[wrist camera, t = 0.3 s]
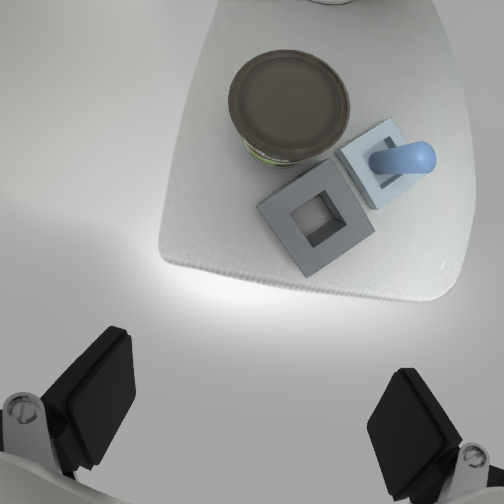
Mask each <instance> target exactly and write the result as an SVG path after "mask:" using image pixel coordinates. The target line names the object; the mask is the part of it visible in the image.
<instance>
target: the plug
mask: <svg viewBox="0 0 504 504" xmlns="http://www.w3.org/2000/svg"><path fill="white" fill-rule="evenodd" d="M368 163H369V167H370V169H371V170H372V172H374V173H375V174H378V175H385V174H424V173H430V172H431V171H432V170H433V169H434V168H435V165H436V155H435V152H434V150H433V148H432V147H431V146H430V145H429V144H428V143H426V142H422V141H420V142H416V143H411V144H407V145H402V146H398V147H394V148H390V149H385V150H381V151H377V152H374V153H372V154H371V155H370V157H369V161H368Z"/></svg>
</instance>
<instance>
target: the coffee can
mask: <svg viewBox="0 0 504 504" xmlns="http://www.w3.org/2000/svg"><path fill="white" fill-rule="evenodd" d="M228 105H229V112H230V116H231V119H232V121H233V124H234V126H235V127H236V129H237V131H238V132H239V133H240V135H241V136H242V139H243V142H244V145H245V147H246V149H247V150H248V152H249V153H250V154H251V155H252V156H253V157H254V158H255V159H256V160H258V161H259V162H261V163H263V164H265V165H267V166H271V167H275V168H288V167H292V166H296V165H298V164H300V163H302V162H303V161H305V160H306V159H308V158H310V157H313V156H316V155H318V154H321V153H323V152H324V151H326V150H328V149H329V148H330V147H332V146H333V145H334V144H335V143H336V142H337V141H338V140H339V139H340V137H341V136H342V134H343V133H344V131H345V129H346V126H347V124H348V120H349V116H350V101H349V96H348V92H347V90H346V87H345V85H344V83H343V81H342V80H341V78H340V77H339V75H338V74H337V73H336V72H335V71H334V69H332V68H331V67H330V66H329V65H328V64H327V63H325V62H324V61H323V60H321V59H319V58H317V57H315V56H313V55H311V54H308V53H305V52H302V51H297V50H275V51H271V52H267V53H263V54H261V55H259V56H257V57H255V58H253V59H251V60H250V61H248V62H247V63H246V64H245V65H244V66H243V67H242V68H241V69H240V70H239V71H238V73H237V74H236V76H235V78H234V79H233V81H232V84H231V86H230V90H229V96H228Z"/></svg>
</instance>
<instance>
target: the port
mask: <svg viewBox="0 0 504 504" xmlns="http://www.w3.org/2000/svg"><path fill="white" fill-rule="evenodd" d="M317 194H319V195H320V196H321V198H322V199H323V201H324V202H325V204H326V206H327V207H328V209H329V210H330V212H331V213H332V215H333V217H334V218H335V219H333V220H332V221H330V222H329V223H327V224H326V225H324V226H323V227H321V228H320V229H319V230H317V231H316V232H314V233H313V234H311V235H310V236H308V237H307V238H306V237H305V236H304V234H303V233H302V231H301V230H300V228H299V227H298V225H297V224H296V222H295V221H294V219H293V218H292V216H291V215H290V213H291V212H292V211H294V210H295V209H297V208H298V207H300V206H301V205H303V204H304V203H306V202H307V201H309V200H310V199H312V198H313V197H314V196H316V195H317ZM257 209H258V210H259V212H260V213H261V214H262V216H263V217H264V219H265V220H266V221H267V223H268V224H269V226H270V227H271V229H272V230H273V231H274V233H275V234H276V236H277V237H278V239H279V240H280V241H281V243H282V244H283V246H284V247H285V249H286V250H287V251H288V253H289V254H290V256H291V257H292V259H293V260H294V262H295V263H296V265H297V266H298V267H299V269H300V270H301V272H302V273H303V275H304V276H305V278H308V277H309V276H311V275H313V274H314V273H316V272H317V271H319V270H320V269H322V268H323V267H324V266H326V265H327V264H329V263H330V262H332V261H333V260H335V259H336V258H338V257H339V256H341V255H342V254H344V253H345V252H346V251H348V250H349V249H351V248H352V247H354V246H355V245H356V244H358V243H359V242H361V241H362V240H364V239H365V238H366V237H368V236H369V235H371V234H372V233H373V232H375V230H374V228H373V226H372V224H371V222H370V221H369V219H368V217H367V215H366V214H365V212H364V210H363V209H362V207H361V205H360V203H359V202H358V200H357V198H356V197H355V195H354V193H353V192H352V190H351V189H350V187H349V185H348V184H347V182H346V181H345V179H344V178H343V176H342V174H341V173H340V171H339V170H338V168H337V167H336V165H335V164H334V162H333V161H332V159H331V158H328V159H325V160H323V161H320V162H319V163H317V164H316V165H314V166H313V167H311V168H310V169H308V170H307V171H305V172H304V173H302V174H301V175H299V176H298V177H296V178H295V179H293V180H292V181H290V182H289V183H287V184H286V185H284V186H283V187H281V188H280V189H278V190H277V191H276V192H274V193H273V194H271V195H270V196H268V197H267V198H265V199H264V200H263V201H261V202H260V203H258V205H257Z"/></svg>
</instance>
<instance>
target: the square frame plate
mask: <svg viewBox="0 0 504 504" xmlns="http://www.w3.org/2000/svg"><path fill="white" fill-rule="evenodd" d="M407 144H408V143H407V141H406V139H405V138H404V136H403V134H402V133H401V131H400V129H399V128H398V126H397V125H396V123H395V121H394V120H393V118H392V117H391V118H389V119H387V120H384V121H383V122H381V123H379V124H378V125H376V126H374V127H373V128H371V129H370V130H368V131H367V132H365V133H363V134H362V135H360V136H359V137H357V138H355V139H354V140H352V141H351V142H349V143H348V144H346V145H345V146H343V147H341V148H340V149H338V150H337V151H335V153H336V154H337V156H338V157H339V159H340V160H341V162H342V163H343V165H344V166H345V168H346V170H347V171H348V173H349V174H350V176H351V177H352V179H353V181H354V182H355V184H356V185H357V187H358V189H359V190H360V192H361V194H362V195H363V197H364V199H365V200H366V202H367V204H368V206H369V207H370V208H372V209H376V210H379V209H380V208H381V207H383V206H384V205H386V204H387V203H388V202H390V201H391V200H392V199H394V198H395V197H397V196H398V195H399V194H401V193H402V192H403V191H405V190H406V189H407V188H409V187H410V186H412V185H413V184H414V183H416V182H417V181H418V180H420V179H421V178H422V177H424V176H425V174H385V175H378V174H375V173H374V172H372V170H371V169H370V167H369V163H368V161H369V157H370V155H371V154H372V153H374V152H377V151H381V150H385V149H390V148H394V147H398V146H402V145H407Z"/></svg>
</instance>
